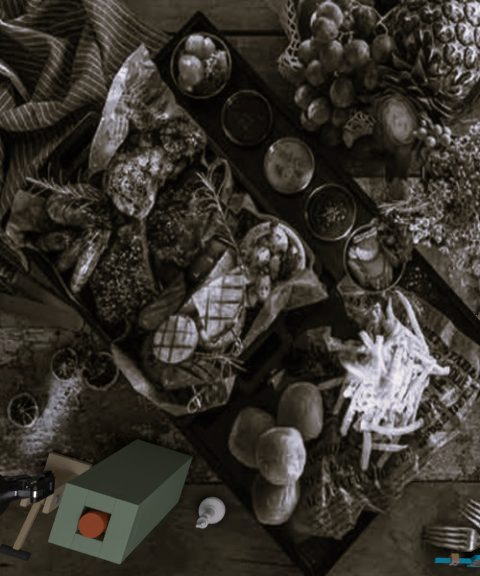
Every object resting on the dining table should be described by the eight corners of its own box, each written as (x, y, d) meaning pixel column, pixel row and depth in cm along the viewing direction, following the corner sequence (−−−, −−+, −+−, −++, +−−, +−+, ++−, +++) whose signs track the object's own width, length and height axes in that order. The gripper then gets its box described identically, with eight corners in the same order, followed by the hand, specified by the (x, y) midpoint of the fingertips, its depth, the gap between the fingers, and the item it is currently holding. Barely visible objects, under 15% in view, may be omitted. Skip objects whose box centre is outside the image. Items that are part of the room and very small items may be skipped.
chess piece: (195, 501, 144) (182, 517, 134) (220, 493, 144) (208, 508, 134) (203, 526, 144) (190, 543, 134) (228, 518, 144) (217, 535, 134)
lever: (28, 561, 130) (24, 560, 128) (0, 553, 130) (-4, 551, 128) (60, 492, 135) (57, 490, 133) (33, 483, 135) (30, 481, 133)
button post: (122, 484, 144) (47, 542, 111) (137, 439, 144) (66, 482, 111) (178, 502, 144) (119, 564, 111) (192, 456, 144) (138, 505, 111)
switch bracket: (78, 509, 144) (51, 529, 132) (37, 497, 143) (7, 515, 132) (92, 464, 144) (67, 479, 132) (52, 451, 144) (23, 465, 132)
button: (83, 527, 113) (75, 533, 110) (90, 504, 113) (82, 509, 110) (106, 534, 113) (99, 541, 110) (113, 511, 113) (106, 517, 110)
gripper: (22, 478, 104) (69, 453, 120) (-83, 473, 104) (-22, 449, 120) (19, 533, 104) (66, 501, 120) (-86, 528, 104) (-25, 496, 120)
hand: (22, 475), depth 120 cm, fingers open, 8 cm apart
